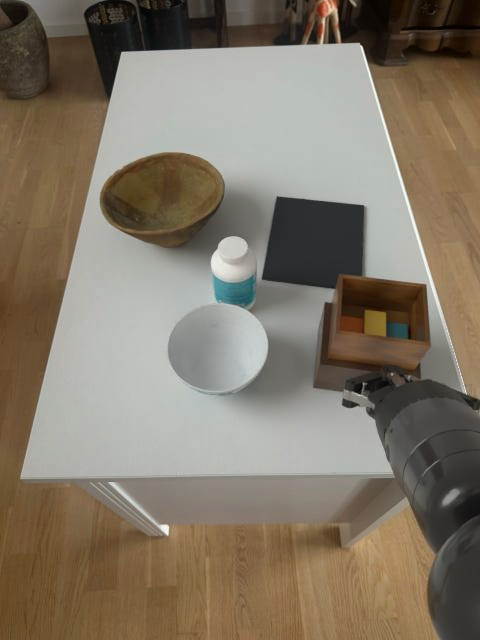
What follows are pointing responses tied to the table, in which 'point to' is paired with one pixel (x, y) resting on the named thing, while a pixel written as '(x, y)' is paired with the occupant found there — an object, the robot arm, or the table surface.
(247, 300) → the pill bottle
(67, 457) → the table surface
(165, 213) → the bowl
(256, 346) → the chinaware
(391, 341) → the wooden box
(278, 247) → the mat
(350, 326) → the orange packet
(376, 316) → the yellow rectangular block
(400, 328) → the teal packet
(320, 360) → the stand
